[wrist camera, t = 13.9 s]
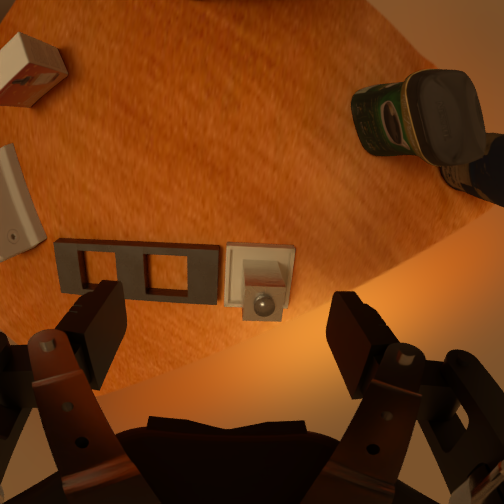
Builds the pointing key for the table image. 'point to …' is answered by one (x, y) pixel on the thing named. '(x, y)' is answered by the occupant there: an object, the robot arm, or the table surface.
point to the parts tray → (255, 252)
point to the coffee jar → (422, 118)
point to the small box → (28, 70)
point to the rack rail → (140, 268)
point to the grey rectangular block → (262, 291)
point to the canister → (481, 173)
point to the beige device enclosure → (16, 209)
